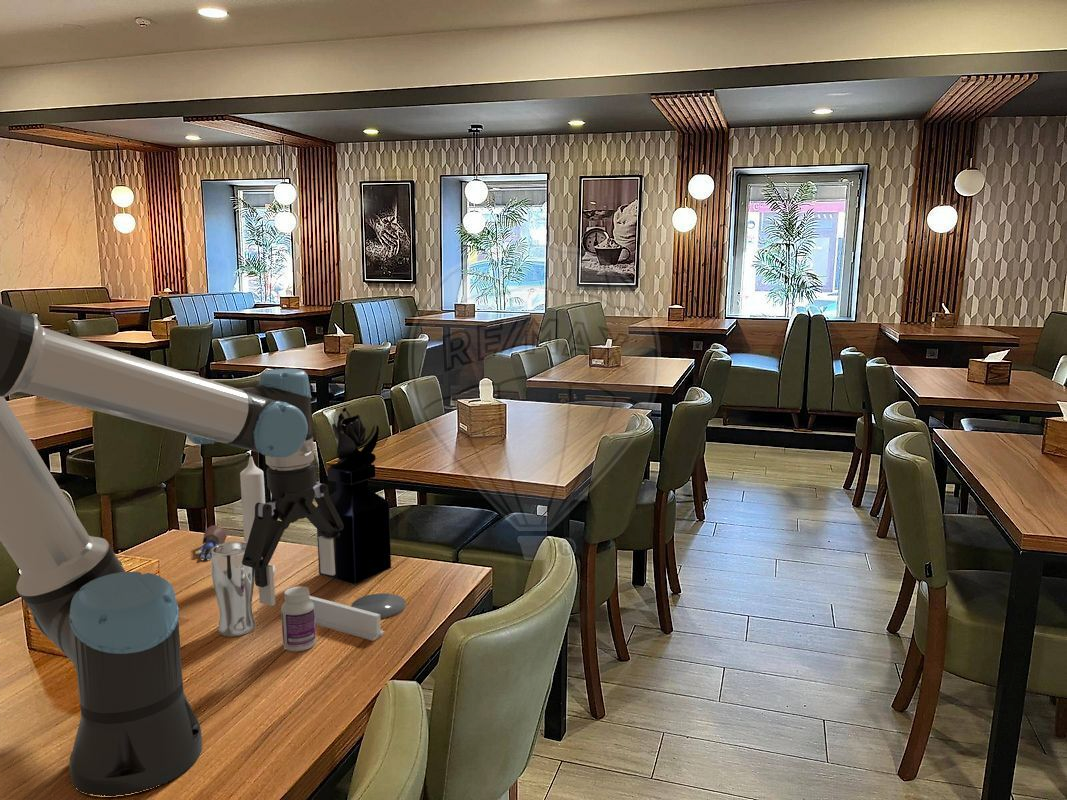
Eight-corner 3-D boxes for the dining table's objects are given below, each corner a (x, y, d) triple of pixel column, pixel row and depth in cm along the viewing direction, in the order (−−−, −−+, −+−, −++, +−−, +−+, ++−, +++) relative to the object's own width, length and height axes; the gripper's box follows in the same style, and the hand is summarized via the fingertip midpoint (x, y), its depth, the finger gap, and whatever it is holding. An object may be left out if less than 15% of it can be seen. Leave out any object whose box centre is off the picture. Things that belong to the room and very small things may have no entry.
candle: (268, 579, 158) (261, 460, 154) (234, 579, 159) (226, 460, 155) (280, 566, 165) (274, 452, 161) (247, 566, 166) (240, 452, 161)
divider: (373, 641, 132) (372, 618, 132) (295, 618, 141) (294, 597, 140) (384, 633, 135) (384, 612, 134) (308, 612, 143) (306, 591, 143)
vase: (361, 553, 173) (355, 398, 168) (400, 563, 167) (395, 403, 162) (312, 574, 161) (304, 408, 156) (353, 586, 155) (346, 414, 150)
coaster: (382, 623, 139) (382, 620, 139) (339, 611, 144) (339, 608, 143) (416, 602, 148) (416, 599, 147) (375, 592, 152) (375, 589, 152)
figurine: (219, 567, 170) (230, 541, 181) (217, 546, 168) (228, 521, 180) (193, 569, 169) (205, 542, 180) (190, 548, 167) (203, 522, 179)
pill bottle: (323, 642, 132) (320, 588, 130) (298, 655, 127) (295, 600, 126) (301, 634, 135) (298, 582, 133) (276, 647, 130) (273, 592, 129)
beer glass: (243, 640, 133) (238, 556, 130) (207, 636, 134) (201, 553, 132) (265, 622, 139) (260, 542, 137) (230, 618, 141) (225, 539, 138)
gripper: (245, 487, 113) (256, 623, 117) (360, 450, 135) (366, 566, 139) (210, 480, 117) (222, 612, 121) (327, 445, 138) (334, 558, 142)
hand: (299, 588), depth 130 cm, fingers open, 13 cm apart
